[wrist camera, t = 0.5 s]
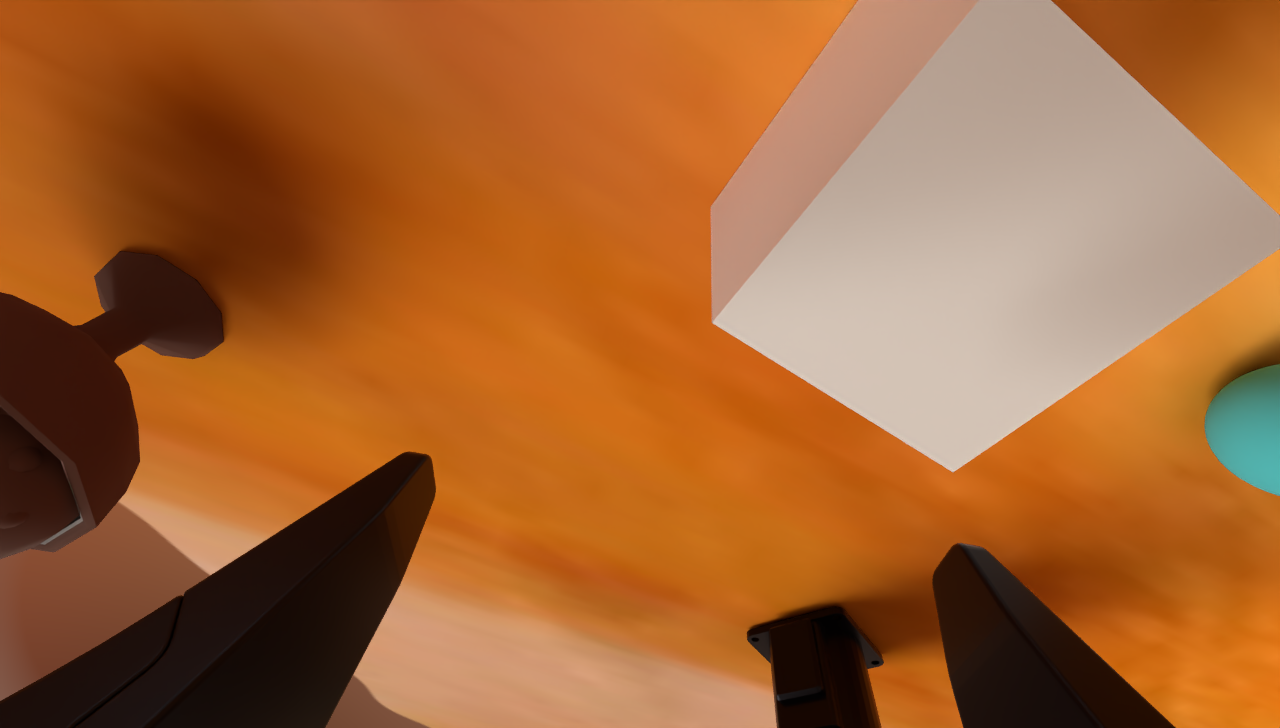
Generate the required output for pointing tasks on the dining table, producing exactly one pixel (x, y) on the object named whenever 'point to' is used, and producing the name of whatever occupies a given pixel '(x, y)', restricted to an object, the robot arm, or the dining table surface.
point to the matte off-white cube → (970, 220)
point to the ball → (1248, 428)
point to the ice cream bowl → (85, 397)
